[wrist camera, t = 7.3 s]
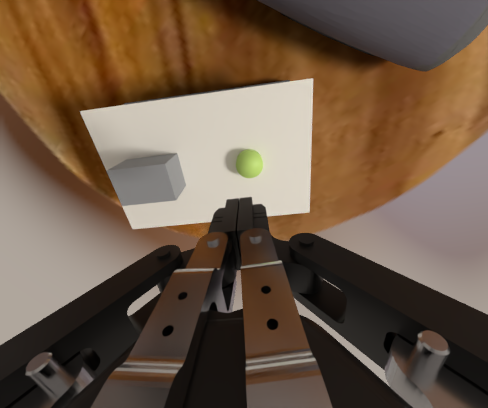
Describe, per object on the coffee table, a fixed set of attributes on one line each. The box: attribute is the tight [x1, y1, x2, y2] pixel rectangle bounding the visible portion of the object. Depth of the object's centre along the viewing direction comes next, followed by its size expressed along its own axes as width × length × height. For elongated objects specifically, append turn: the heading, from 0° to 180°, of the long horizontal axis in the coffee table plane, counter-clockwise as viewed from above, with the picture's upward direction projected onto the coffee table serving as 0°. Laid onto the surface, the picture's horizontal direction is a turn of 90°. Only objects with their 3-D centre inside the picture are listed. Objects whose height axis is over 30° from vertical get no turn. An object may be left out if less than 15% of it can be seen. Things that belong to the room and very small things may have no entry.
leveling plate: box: [80, 78, 313, 229], centre depth 24 cm, size 15×24×7 cm, turn 97°
